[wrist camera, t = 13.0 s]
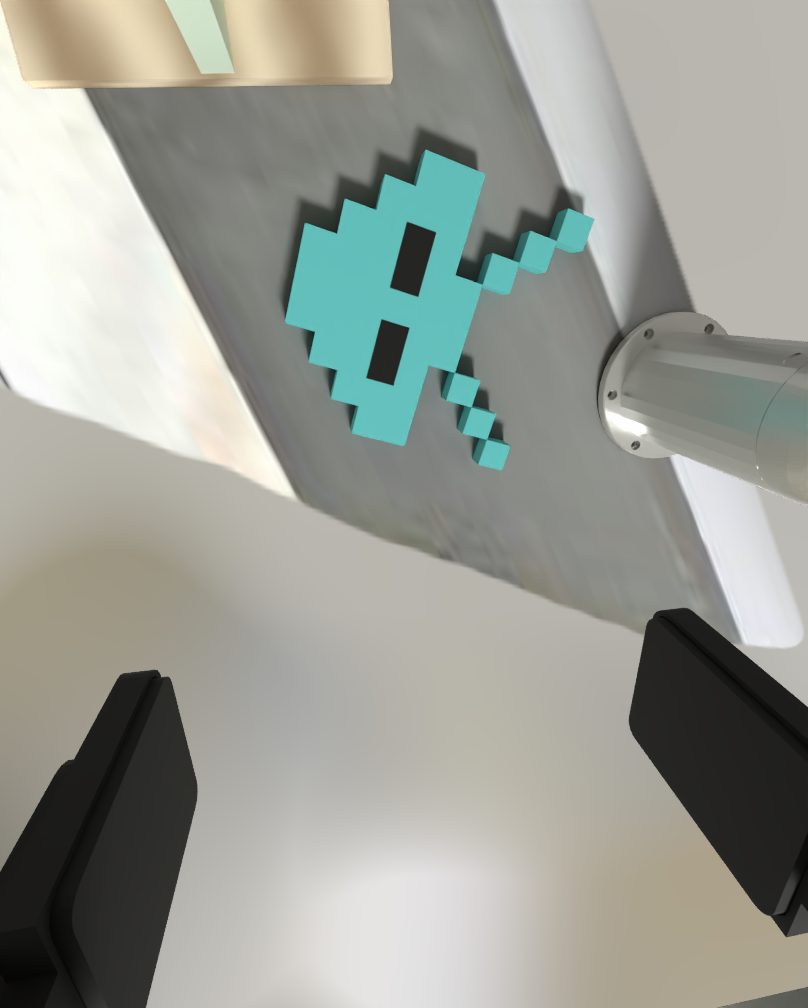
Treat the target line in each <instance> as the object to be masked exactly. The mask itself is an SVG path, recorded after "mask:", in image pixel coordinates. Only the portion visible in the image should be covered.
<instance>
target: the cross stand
mask: <svg viewBox="0 0 808 1008" xmlns="http://www.w3.org/2000/svg"><path fill="white" fill-rule="evenodd" d="M0 2H1V5H2V9H3V12H4V16H5V19H6V23H7V26H8V30H9V33H10V37H11V40H12V44H13V47H14V51H15V54H16V58H17V62H18V65H19V69H20V72H21V76H22V79H23V81H24V82H25V83H27V84H28V85H29V86H31V87H32V88H33V89H45V88H124V87H203V86H282V85H361V84H390V83H391V80H392V78H393V72H392V54H391V37H390V19H389V2H388V0H223V2H224V8H225V14H226V20H227V27H228V33H229V39H230V45H231V52H232V58H233V64H234V70H235V73H213V74H201V72H200V70H199V68H198V66H197V64H196V62H195V60H194V58H193V56H192V54H191V52H190V50H189V48H188V46H187V44H186V42H185V40H184V37H183V35H182V33H181V31H180V29H179V27H178V25H177V23H176V21H175V19H174V17H173V15H172V13H171V11H170V9H169V7H168V5H167V3H166V1H165V0H0Z"/></svg>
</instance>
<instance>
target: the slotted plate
mask: <svg viewBox="0 0 808 1008" xmlns="http://www.w3.org/2000/svg"><path fill="white" fill-rule="evenodd" d="M165 1H166V3H167V5H168V7H169V9H170V11H171V13H172V15H173V17H174V19H175V21H176V23H177V25H178V27H179V29H180V31H181V33H182V35H183V37H184V40H185V42H186V44H187V46H188V48H189V50H190V52H191V54H192V56H193V58H194V60H195V62H196V64H197V66H198V68H199V70H200V72H201V74H213V73H235V70H234V64H233V58H232V52H231V45H230V39H229V33H228V27H227V20H226V14H225V8H224V2H223V0H165Z"/></svg>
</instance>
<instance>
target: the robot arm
mask: <svg viewBox="0 0 808 1008" xmlns="http://www.w3.org/2000/svg"><path fill="white" fill-rule="evenodd" d="M644 333H645V334H644ZM608 393H609V395H608ZM598 405H599V414H600V418H601V422H602V424H603V427H604V429H605V431H606V433H607V434H608V436H609V437H610V438H611V439H612V441H613V442H614V443H615V444H617V445H618V446H619V447H621V448H622V449H624V450H626V451H627V452H629V453H632V454H634V455H637V456H640V457H644V458H662V457H668V456H672V455H675V454H680V455H682V456H685V457H687V458H689V459H692V460H694V461H697V462H699V463H701V464H704V465H706V466H709V467H711V468H713V469H716V470H718V471H721V472H723V473H725V474H728V475H730V476H733V477H735V478H737V479H740V480H742V481H745V482H747V483H749V484H752V485H754V486H757V487H759V488H761V489H764V490H766V491H769V492H771V493H773V494H776V495H778V496H781V497H784V498H786V499H789V500H791V501H793V502H796V503H798V504H801V505H804V506H808V342H804V341H791V340H779V339H765V338H755V337H742V336H730V335H728V334H727V333H726V331H725V330H724V329H723V328H722V327H721V326H720V325H719V324H718V323H717V322H716V321H714V320H713V319H711V318H709V317H707V316H705V315H702V314H698V313H695V312H670V313H665V314H662V315H658V316H655V317H653V318H651V319H649V320H647V321H645V322H643V323H642V324H640V325H639V326H638V327H636V328H635V329H634V330H632V331H631V332H630V333H629V334H628V335H627V336H626V337H625V338H624V339H623V340H622V341H621V342H620V343H619V345H618V346H617V348H616V349H615V351H614V352H613V353H612V355H611V357H610V359H609V361H608V363H607V365H606V367H605V369H604V372H603V375H602V378H601V382H600V387H599V395H598ZM629 725H630V729H631V732H632V734H633V736H634V738H635V739H636V741H637V742H638V743H639V744H640V746H641V748H642V749H643V750H644V752H645V753H646V754H647V755H648V757H649V759H650V760H651V761H652V763H653V764H654V766H655V767H656V768H657V770H658V771H659V773H660V774H661V775H662V777H663V778H664V779H665V781H666V782H667V784H668V785H669V786H670V788H671V789H672V791H673V792H674V793H675V795H676V796H677V797H678V799H679V800H680V802H681V803H682V804H683V806H684V807H685V809H686V810H687V811H688V813H689V814H690V816H691V817H692V818H693V820H694V821H695V823H696V824H697V825H698V827H699V828H700V830H701V831H702V832H703V834H704V835H705V836H706V838H707V839H708V840H709V842H710V843H711V845H712V846H713V847H714V849H715V850H716V852H717V853H718V855H719V856H720V857H721V859H722V860H723V861H724V863H725V864H726V865H727V867H728V868H729V870H730V871H731V872H732V874H733V875H734V877H735V878H736V879H737V881H738V882H739V884H740V885H741V886H742V888H743V889H744V891H745V892H746V893H747V895H748V896H749V898H750V899H751V900H752V902H753V903H754V904H755V906H757V908H758V909H759V910H760V911H761V912H763V913H764V914H766V915H769V916H771V917H772V918H773V920H774V921H775V923H776V924H777V925H778V927H779V928H780V930H781V931H782V932H783V934H784V935H785V936H786V937H789V936H795V935H799V934H803V933H808V707H807V706H806V705H805V704H803V703H802V702H801V701H800V700H799V699H797V698H796V697H795V696H794V695H793V694H791V693H790V692H789V691H788V690H787V689H785V688H784V687H783V686H782V685H781V684H779V683H778V682H777V681H776V680H775V679H773V678H772V677H771V676H770V675H769V674H767V673H766V672H765V671H764V670H763V669H761V668H760V667H759V666H758V665H757V664H755V663H754V662H753V661H752V660H751V659H749V658H748V657H747V656H746V655H745V654H743V653H742V652H741V651H740V650H739V649H737V648H736V647H735V646H734V645H733V644H731V643H730V642H729V641H728V640H727V639H725V638H724V637H723V636H722V635H721V634H719V633H718V632H717V631H716V630H715V629H713V628H712V627H711V626H710V625H709V624H707V623H706V622H705V621H704V620H703V619H701V618H700V617H699V616H698V615H697V614H695V613H694V612H693V611H691V610H690V609H688V608H678V609H670V610H661V611H658V612H656V613H655V614H654V616H653V619H650V620H649V621H648V623H647V626H646V631H645V636H644V642H643V647H642V652H641V657H640V663H639V668H638V673H637V678H636V684H635V689H634V694H633V699H632V704H631V710H630V715H629ZM196 802H197V780H196V776H195V772H194V769H193V765H192V760H191V756H190V753H189V749H188V745H187V741H186V737H185V733H184V729H183V725H182V721H181V717H180V713H179V709H178V705H177V701H176V697H175V693H174V689H173V685H172V682H171V679H170V678H169V677H161V675H160V673H159V672H158V670H149V671H140V672H132V673H123V674H122V675H120V676H119V678H118V679H117V681H116V683H115V685H114V686H113V688H112V690H111V692H110V694H109V696H108V698H107V699H106V701H105V703H104V705H103V707H102V709H101V710H100V712H99V714H98V716H97V718H96V720H95V722H94V723H93V725H92V727H91V729H90V731H89V733H88V735H87V736H86V738H85V740H84V742H83V744H82V746H81V747H80V749H79V751H78V753H77V755H76V757H75V759H74V760H68V761H67V762H65V763H64V764H63V765H61V767H60V768H59V770H58V771H57V773H56V774H55V775H54V777H53V779H52V781H51V783H50V785H49V786H48V788H47V790H46V791H45V793H44V795H43V797H42V799H41V800H40V802H39V804H38V806H37V807H36V809H35V811H34V813H33V815H32V816H31V818H30V820H29V822H28V824H27V825H26V827H25V829H24V831H23V833H22V834H21V836H20V838H19V839H18V841H17V843H16V845H15V847H14V848H13V850H12V852H11V854H10V855H9V857H8V859H7V861H6V863H5V865H4V866H3V868H2V870H1V872H0V1008H146V1004H147V1000H148V996H149V992H150V988H151V984H152V980H153V976H154V972H155V968H156V964H157V960H158V955H159V952H160V948H161V944H162V940H163V936H164V932H165V928H166V924H167V920H168V916H169V912H170V908H171V903H172V900H173V895H174V891H175V887H176V883H177V879H178V875H179V871H180V867H181V863H182V859H183V855H184V851H185V847H186V843H187V839H188V834H189V831H190V826H191V823H192V819H193V814H194V811H195V806H196ZM718 1008H808V987H806V988H802V989H797V990H793V991H789V992H784V993H779V994H775V995H771V996H766V997H762V998H758V999H754V1000H749V1001H744V1002H740V1003H736V1004H731V1005H727V1006H723V1007H718Z"/></svg>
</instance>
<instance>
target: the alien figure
mask: <svg viewBox="0 0 808 1008" xmlns="http://www.w3.org/2000/svg"><path fill="white" fill-rule="evenodd" d="M485 175H486V174H484V173H481V172H479V171H477V170H474V169H472V168H469V167H467V166H464V165H462V164H460V163H457V162H455V161H452V160H450V159H447V158H445V157H443V156H440V155H438V154H435V153H433V152H430V151H428V150H425V151H424V153H423V154H422V155H421V157H420V161H419V165H418V169H417V172H416V176H415V180H414V184H413V185H412V184H409V183H407V182H404V181H401V180H399V179H396V178H394V177H391V176H389V175H386V174H385V175H384V177H383V179H382V182H381V186H380V190H379V194H378V198H377V202H376V207H375V209H372V208H369V207H367V206H364V205H361V204H358V203H356V202H353V201H350V200H348V199H345V200H344V203H343V208H342V212H341V217H340V221H339V226H338V230H337V234H336V233H333V232H330V231H327V230H325V229H322V228H319V227H316V226H313V225H310V224H307V223H305V225H304V230H303V235H302V240H301V245H300V250H299V255H298V260H297V265H296V270H295V275H294V280H293V285H292V290H291V295H290V300H289V305H288V309H287V314H286V319H285V323H287V324H290V325H294V326H297V327H300V328H304V329H307V330H311V331H314V332H315V334H314V339H313V343H312V348H311V352H310V357H309V362H310V363H314V364H317V365H321V366H324V367H328V368H331V369H335V370H336V373H335V377H334V381H333V385H332V389H331V393H330V397H331V399H334V400H337V401H341V402H345V403H349V404H353V405H356V408H355V411H354V415H353V419H352V423H351V427H350V429H351V432H352V433H353V434H357V435H361V436H365V437H369V438H373V439H377V440H381V441H385V442H389V443H393V444H397V445H401V446H405V443H406V439H407V436H408V433H409V429H410V426H411V423H412V419H413V416H414V413H415V409H416V406H417V403H418V399H419V396H420V392H421V389H422V386H423V382H424V379H425V376H426V372H427V369H428V366H433V367H436V368H439V369H443V370H446V371H449V373H448V376H447V379H446V382H445V386H444V389H443V392H442V395H441V397H442V398H444V399H445V400H446V401H450V402H453V403H457V404H461V405H464V409H463V412H462V415H461V418H460V421H459V424H458V427H457V429H458V430H459V431H460V432H462V433H463V434H466V435H470V436H474V437H478V438H479V441H478V444H477V446H476V449H475V452H474V455H473V458H472V459H473V460H474V461H475V462H476V463H477V464H478V465H482V466H486V467H490V468H494V469H498V470H502V468H503V466H504V463H505V460H506V457H507V455H508V452H509V449H510V447H511V446H510V445H508V444H507V443H506V442H504V441H502V440H498V439H495V438H491V437H488V436H489V433H490V430H491V427H492V424H493V422H494V419H495V416H496V414H495V413H493V412H491V411H490V410H487V409H483V408H480V407H476V406H472V404H473V401H474V398H475V395H476V392H477V389H478V386H479V383H480V380H478V379H476V378H474V377H470V376H467V375H463V374H460V373H457V372H455V371H456V368H457V365H458V362H459V359H460V355H461V352H462V349H463V346H464V343H465V340H466V336H467V333H468V330H469V327H470V324H471V321H472V317H473V314H474V311H475V308H476V305H477V302H478V298H479V295H480V292H481V289H482V288H484V289H487V290H490V291H493V292H496V293H499V294H510V291H511V288H512V285H513V282H514V279H515V276H516V273H517V270H518V267H519V268H522V269H524V270H527V271H530V272H533V273H535V274H539V273H546V271H547V268H548V265H549V262H550V259H551V257H552V254H553V251H554V248H555V247H557V248H559V249H562V250H565V251H567V252H570V253H575V252H581V251H583V249H584V246H585V243H586V240H587V238H588V235H589V232H590V230H591V227H592V224H593V221H594V219H593V218H591V217H588V216H586V215H583V214H581V213H579V212H576V211H574V210H571V209H569V208H568V209H565V210H563V211H560V212H558V213H557V216H556V219H555V222H554V225H553V227H552V230H551V233H550V236H549V238H548V237H545V236H543V235H540V234H537V233H535V232H532V231H528V232H525V233H522V234H521V237H520V240H519V243H518V246H517V249H516V252H515V255H514V258H513V260H510V259H507V258H505V257H502V256H499V255H497V254H494V253H491V254H488V255H485V258H484V261H483V264H482V267H481V271H480V274H479V277H478V280H477V283H476V282H473V281H471V280H468V279H465V278H462V277H459V276H456V272H457V268H458V265H459V262H460V258H461V255H462V252H463V248H464V245H465V242H466V238H467V235H468V232H469V228H470V225H471V221H472V218H473V215H474V211H475V208H476V205H477V201H478V198H479V195H480V191H481V188H482V185H483V181H484V178H485Z"/></svg>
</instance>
